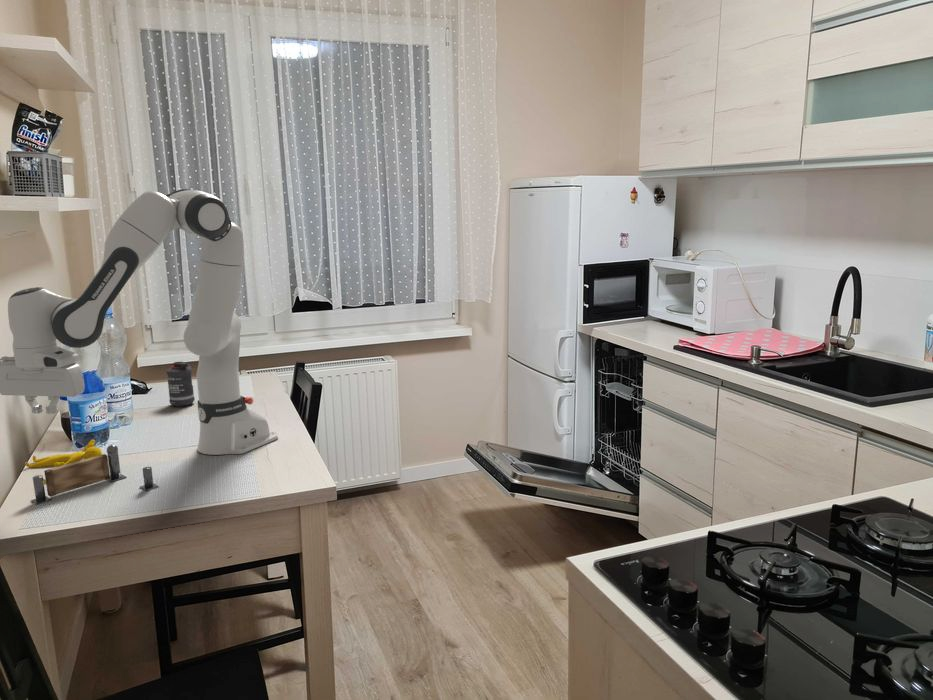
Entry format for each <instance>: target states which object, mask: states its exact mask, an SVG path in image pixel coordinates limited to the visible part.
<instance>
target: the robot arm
mask: <svg viewBox="0 0 933 700" xmlns="http://www.w3.org/2000/svg"><path fill="white" fill-rule="evenodd" d="M177 229H180V230H183V231H184V232H186V233H189V234H194V235H198V237H199V239H200V245H201V247H200V248H201V249H200V255H199V264H198V272H197V273H198V274H197V283H196V290H195V293H194V297H193V300H192V305H191V308H190V312H189V316H188V320H187V324H186V327H185V329H184V332H183V343H184V345H185V347H186V348H187V350H188V351H189V352H190V353H192V354H193V355H196V356H198V357H199V359H198V365H197V370H196V383H197V393H198V394H197V395H198V400H197V411H198V413H197V414H198V415H197V416H198V420H199V437H198V443H197V448H196V450H197V451H198V453H201V454H204V455H212V456H213V455H215V456H217V455H218V456H221V455H230V454H231V455H241V454H245V453H247V452H249V451H252V450H254V449H256V448H259V447H262V446H264V445H266V444H269V443H270V442H273V441H276V440H277V439H278V438H279V436H278V433H277V432H275V431H274V430H271V429H270V427H269V423H268V421H267V419H266V418H265V416H263V415H261V414H259V413H257V412H256V411H254V410H253V409H251V408H249V407H248V406H247V405H252V404H253V403H254V402H255V401H254V398H253V397H251V396H246V397H245V396H242V395H241V388H240V377H239V376H240V375H239V365H240V364H239V362H240V361H239V360H240V345H241V344H240V343H241V342H240V341H241V339H240V338H241V330H242V323H241V320H240V318H239V316H238V315H237V313H235V310H236V309H235V308H236V305H237V301H238V298H239V296H240V291H241V283H242V275H243V266H244V255H245V253H244V252H245V250H244V249H245V248H244V247H245V245H244V243H245V242H244V233H243V230H242V229H241V227H240V226H239V225H238V224H236V223H235V222H232V221H231V218H230V216H229V212H228V209H227V207H226V205H225V204H224V202H223V201H222V200H221V199H220V198H218V197H217V196H216V195H214V194H211V193H207V192H205V191H203V190H197V189H196V190H195V189H186V188H185V189H178V190H176V191H175V190H174V191H173V192H171V193H168V194H166V195H165V194H164V193H161V192H158V191H155V190H147V191H145V192H143V193H142V194H141V195H139V196H137V198H135V200H134V201H133V202H132V203H130V204H129V206H127V208H126V209H125V210H124V211H123V212H122V214H121V215H119V217H118V219H117V220H116V221H115V222H114V224H113V226H112V227H111V229H110V230H109V233H108V234H107V236H106V240H105V241H104V250H103V251H104V255H103V260H102V263H101V265H100V266H99V269H98V271H97V272H96V274H95V275H94V277H92V279H91V281H90V282H89V283H88V285H87V286H86V288H85V290H84V291H83V292H82V293H81V295H80V296H79V297H78V298H73V297H68V296H63V295H60V294H57V293H55V292H52V291H50V290H48V289H46V288H45V287H38V286H37V287H29V288H25V289H22V290H21V289H20V290H19V291H18V290H17V291H15V292H14V293H13V294H12V295H11V296H10V297H9V298H8V302H7V317H8V325H9V329H10V331H11V334H12V338H13V340H12V350H13V356H7V355H6V356H2V357H0V395H1V396H15V397H16V396H18V397H24V399H25V402H26V403H27V405H29V407H30V408H31V413H32V414H41V413H43V405H42V404H39V402H38V401H37V400H36V398H38V397H47V398H48V401H50V403H49V405H48V406H46V407H45V410H46V411H45V412H46V414H48V415H49V414H50V415H52V414H56V413H57V411H58V408H57V407H58V403H59V401H60V399H61V397H63V398H64V397H65V398H66V397H70V398H74V397H77V396H80V395H81V394H83V393H84V391H85V389H86V388H85V386H86V385H85V379H84V374H83V370H82V368H81V366H80V365H79V364H78V362H79V360H80V358H79V357H80V356H79V354H78V353H77V352H74V351H70V350H68V349H65V348H62V347H60V346H58V343H57V341H58V342H59V343H60V344H62V345H65V346H66V347H69V348H75V349H76V348H77V349H78V348H79V349H80V348H86V347H89V346H90V345H92V344H94V343H95V342H96V341H97V340H98V339H99V338H100V336H101V335H102V334H103V333H102V332H103V328H104V323H105V317H106V315H107V312H108V310H109V309H110V307H111V306H112V304H113V303H114V301H115V300H116V298H117V297H118V296H119V294H120V293H121V291H122V290H123V288H124V287H125V285H126V284H127V283H128V281H129V280H130V279H131V278H132V277H133V275H134V274H135V273H136V272H138V270H139V269H141V268H142V266H144V265H145V263H146V262H148V261H149V260H150V258H151V257H152V256H153V255H154V254H155V253H156V251H157V250H158V249H159V248H160V246H161V245H162V244H163V242H164V241H165V238H166V237H167V236H169V234H170V233H172V232H173V231H174V230H177Z"/></svg>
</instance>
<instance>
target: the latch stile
mask: <svg viewBox="0 0 933 700" xmlns="http://www.w3.org/2000/svg"><path fill="white" fill-rule="evenodd" d="M32 482H33V490H34V495H35V496H34V497H35V498H33V499H31V500H30V501H31V503H33V504H34V505H36V506H37V505H41V504H44V503H47V502H51V501H52V499H51V497H50V496H48V495H46V489H45V486H46V479H45V478H44V476H43V475H41V474H40V475H34V476H33V477H32Z"/></svg>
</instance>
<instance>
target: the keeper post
mask: <svg viewBox="0 0 933 700" xmlns="http://www.w3.org/2000/svg"><path fill="white" fill-rule="evenodd" d="M142 476H143V477H142V478H143V484H144V485H140V486H139V489H141V490H143V491H145V492H147V490H148V491H151V490H153V488H154V489H157V488H159V487H160V486H159V485H158V484H156V483H154V478H153V477H154V476H153V469H152V466H144V467H143V468H142ZM156 487H157V488H156ZM150 489H151V490H150Z"/></svg>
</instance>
